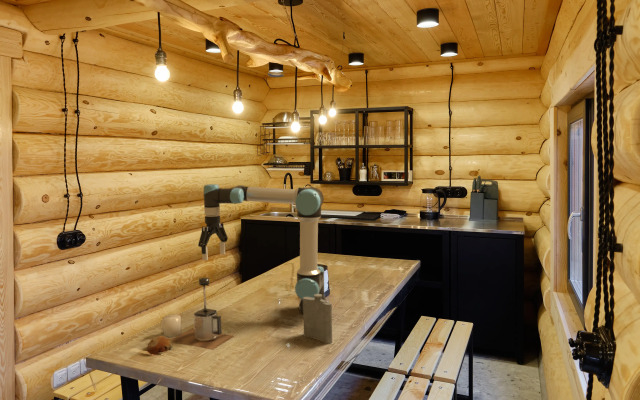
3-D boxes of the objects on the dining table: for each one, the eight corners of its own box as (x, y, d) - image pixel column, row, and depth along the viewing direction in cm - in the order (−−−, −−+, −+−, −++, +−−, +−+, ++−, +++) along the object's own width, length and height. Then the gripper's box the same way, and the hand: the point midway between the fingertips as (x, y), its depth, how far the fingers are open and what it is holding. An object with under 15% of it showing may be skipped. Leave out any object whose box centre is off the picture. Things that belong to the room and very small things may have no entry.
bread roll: (166, 352, 216) (160, 335, 217) (179, 347, 210) (173, 330, 211) (146, 361, 208) (140, 343, 209) (160, 356, 202) (153, 337, 203)
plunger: (217, 315, 221) (215, 277, 219) (207, 321, 214) (205, 281, 212) (204, 313, 224) (202, 276, 222) (194, 319, 217) (192, 280, 215)
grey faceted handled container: (227, 335, 221) (226, 310, 220) (213, 343, 212) (212, 317, 211) (204, 331, 227) (203, 306, 225) (190, 339, 218) (189, 313, 216)
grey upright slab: (302, 335, 223) (301, 292, 221) (308, 332, 226) (307, 290, 224) (329, 344, 213) (328, 299, 211) (335, 341, 216) (334, 297, 214)
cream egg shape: (185, 334, 227) (184, 315, 226) (173, 341, 219) (172, 321, 218) (169, 331, 230) (168, 313, 229) (157, 337, 223) (156, 318, 222)
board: (234, 338, 221) (234, 335, 221) (212, 352, 207) (212, 349, 206) (192, 330, 231) (192, 328, 231) (168, 343, 217) (168, 340, 217)
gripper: (222, 211, 258) (223, 251, 260) (189, 218, 236) (191, 261, 238) (233, 212, 254) (235, 252, 257) (201, 219, 232) (203, 263, 235)
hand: (214, 257), depth 248 cm, fingers open, 13 cm apart
